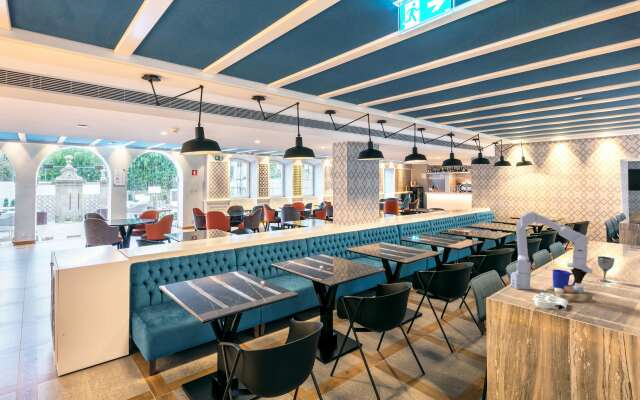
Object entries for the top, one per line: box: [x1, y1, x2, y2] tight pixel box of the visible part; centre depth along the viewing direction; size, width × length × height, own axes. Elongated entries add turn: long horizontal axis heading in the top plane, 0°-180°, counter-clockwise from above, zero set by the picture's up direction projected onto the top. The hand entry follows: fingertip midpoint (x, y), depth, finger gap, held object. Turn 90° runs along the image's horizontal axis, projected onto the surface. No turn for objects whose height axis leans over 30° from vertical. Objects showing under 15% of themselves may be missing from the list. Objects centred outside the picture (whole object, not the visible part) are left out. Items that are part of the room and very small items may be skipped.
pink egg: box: [564, 286, 574, 294], centre depth 173 cm, size 4×4×3 cm
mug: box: [552, 269, 576, 289], centre depth 189 cm, size 8×12×10 cm
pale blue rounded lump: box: [573, 285, 585, 294], centre depth 173 cm, size 4×4×3 cm
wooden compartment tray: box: [545, 288, 593, 303], centre depth 174 cm, size 17×10×3 cm, turn 90°
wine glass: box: [597, 255, 615, 284], centre depth 207 cm, size 8×8×15 cm
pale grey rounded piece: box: [553, 287, 564, 293], centre depth 174 cm, size 4×4×3 cm
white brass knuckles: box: [530, 292, 569, 311], centre depth 164 cm, size 3×18×15 cm
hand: (578, 283), depth 173 cm, fingers closed
